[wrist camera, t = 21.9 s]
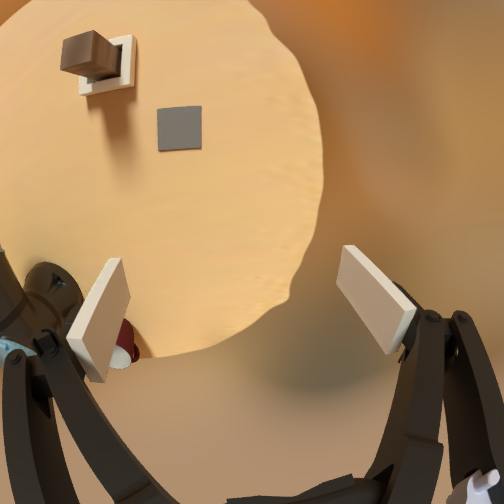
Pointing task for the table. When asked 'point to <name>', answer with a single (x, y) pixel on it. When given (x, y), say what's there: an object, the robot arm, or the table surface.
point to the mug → (124, 348)
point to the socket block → (127, 69)
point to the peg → (91, 57)
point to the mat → (179, 127)
